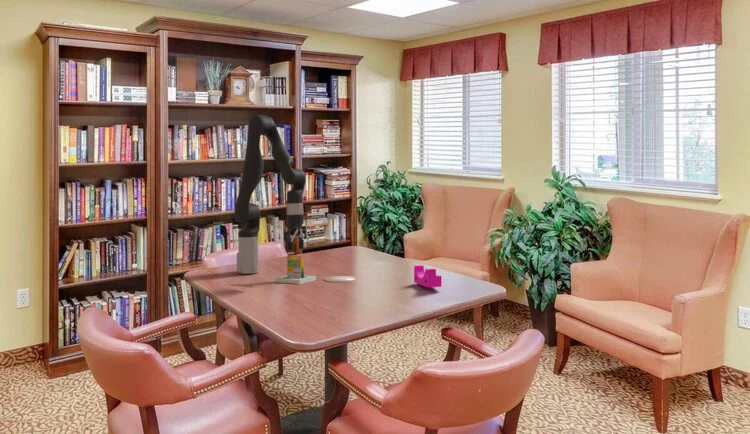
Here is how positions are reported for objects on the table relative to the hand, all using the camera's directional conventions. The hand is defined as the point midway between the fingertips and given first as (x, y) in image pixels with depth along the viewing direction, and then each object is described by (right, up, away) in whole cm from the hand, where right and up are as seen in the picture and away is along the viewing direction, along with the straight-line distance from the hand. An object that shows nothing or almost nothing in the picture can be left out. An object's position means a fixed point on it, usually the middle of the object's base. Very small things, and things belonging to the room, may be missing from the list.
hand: (295, 249), depth 261 cm
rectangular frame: (0, -14, +1) cm, 14 cm away
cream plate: (+20, -14, +4) cm, 24 cm away
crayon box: (0, -14, +1) cm, 14 cm away
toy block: (+58, -15, -10) cm, 61 cm away
